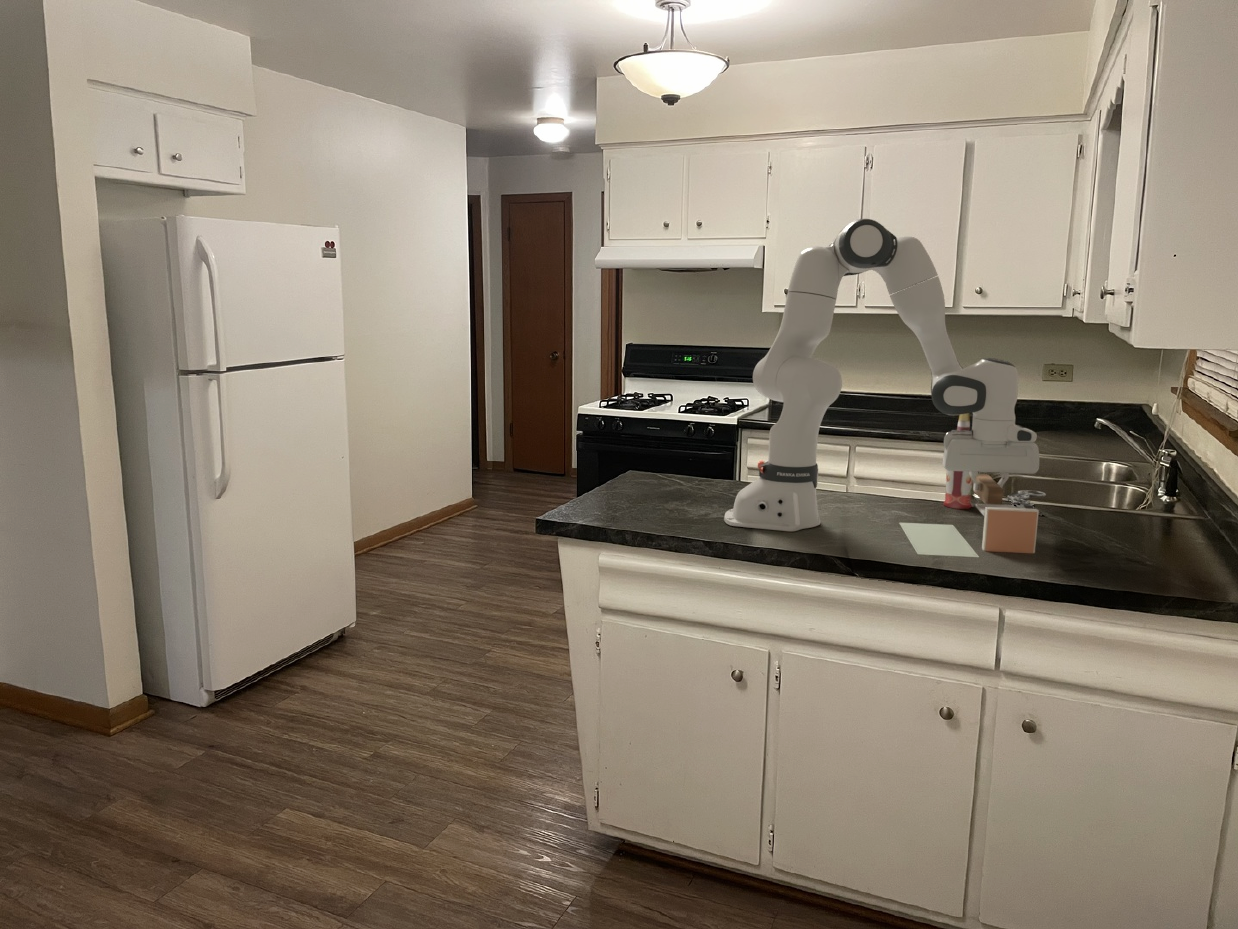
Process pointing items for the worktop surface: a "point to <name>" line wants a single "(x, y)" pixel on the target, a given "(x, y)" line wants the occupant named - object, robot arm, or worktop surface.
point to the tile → (1010, 529)
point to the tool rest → (937, 540)
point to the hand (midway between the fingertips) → (987, 491)
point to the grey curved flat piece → (1024, 498)
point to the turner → (989, 493)
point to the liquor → (959, 478)
